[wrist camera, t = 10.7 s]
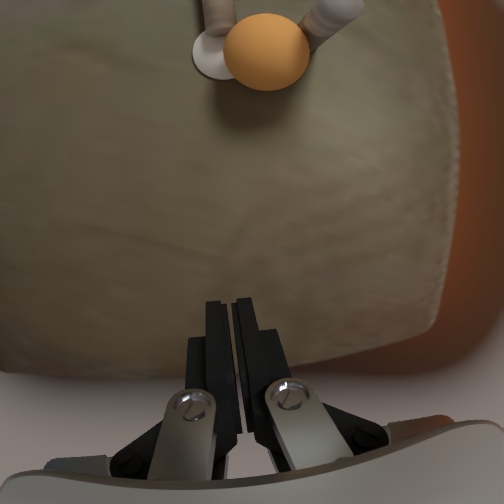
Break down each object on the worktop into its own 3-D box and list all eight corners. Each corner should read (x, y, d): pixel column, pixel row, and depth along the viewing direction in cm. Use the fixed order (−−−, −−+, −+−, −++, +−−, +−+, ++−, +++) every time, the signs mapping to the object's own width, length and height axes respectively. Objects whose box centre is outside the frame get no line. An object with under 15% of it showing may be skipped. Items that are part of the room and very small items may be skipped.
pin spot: (230, 91, 21) (230, 91, 21) (180, 59, 20) (179, 58, 19) (268, 46, 20) (269, 45, 20) (218, 15, 18) (218, 14, 18)
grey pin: (307, 57, 20) (350, 25, 12) (284, 40, 20) (316, -2, 11) (324, 39, 20) (371, 3, 11) (301, 22, 19) (338, -22, 11)
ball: (254, 55, 22) (253, 112, 22) (209, 18, 17) (201, 78, 17) (319, 35, 18) (326, 95, 18) (282, -13, 13) (286, 46, 13)
